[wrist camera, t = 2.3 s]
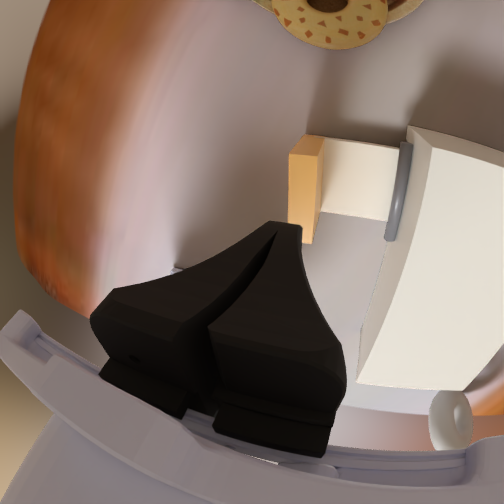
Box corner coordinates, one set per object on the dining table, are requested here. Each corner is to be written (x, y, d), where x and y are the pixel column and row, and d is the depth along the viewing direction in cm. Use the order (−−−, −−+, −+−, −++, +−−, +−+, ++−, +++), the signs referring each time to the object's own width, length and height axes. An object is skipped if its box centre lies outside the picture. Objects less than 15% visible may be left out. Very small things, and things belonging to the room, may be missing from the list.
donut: (423, 383, 28) (420, 456, 20) (445, 372, 25) (447, 448, 18) (455, 403, 28) (455, 464, 21) (474, 393, 26) (477, 456, 18)
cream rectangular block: (352, 329, 26) (346, 381, 21) (395, 122, 15) (416, 143, 10) (455, 341, 22) (462, 390, 18) (532, 164, 11) (576, 199, 7)
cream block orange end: (302, 203, 20) (287, 240, 16) (304, 134, 17) (288, 153, 13) (485, 235, 16) (508, 276, 12) (503, 174, 13) (537, 205, 9)
